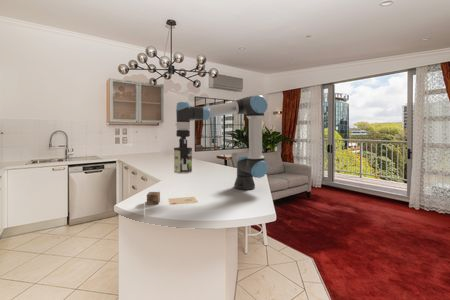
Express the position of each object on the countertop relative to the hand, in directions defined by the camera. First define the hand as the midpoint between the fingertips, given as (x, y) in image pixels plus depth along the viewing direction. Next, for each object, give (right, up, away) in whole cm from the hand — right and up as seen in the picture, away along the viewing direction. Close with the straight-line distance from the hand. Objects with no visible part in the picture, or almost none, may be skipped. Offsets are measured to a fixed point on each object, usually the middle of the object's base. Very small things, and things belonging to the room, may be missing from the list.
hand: (183, 168), depth 136 cm
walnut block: (-16, -20, -3) cm, 26 cm away
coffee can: (0, -2, 0) cm, 2 cm away
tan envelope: (0, -19, +2) cm, 20 cm away
